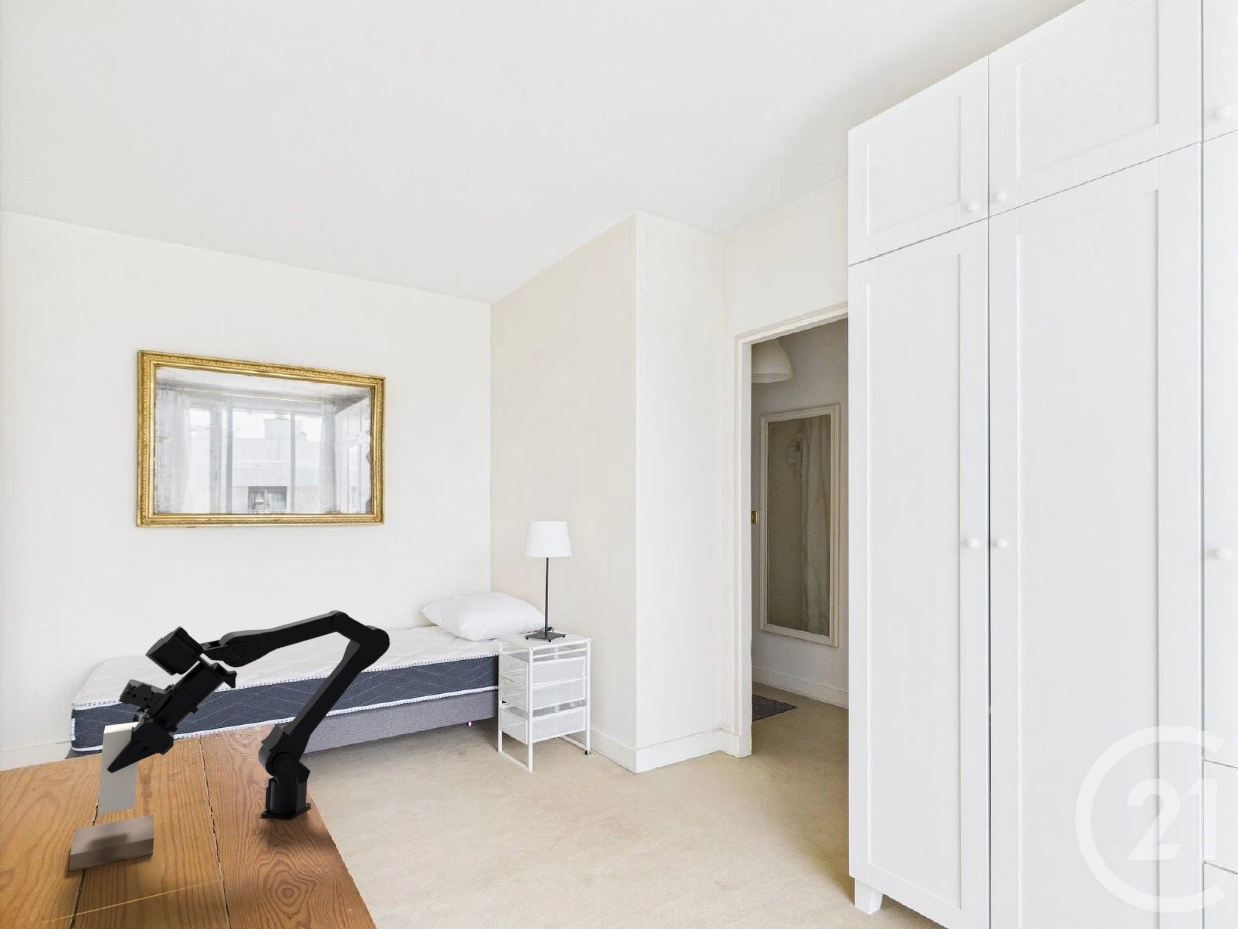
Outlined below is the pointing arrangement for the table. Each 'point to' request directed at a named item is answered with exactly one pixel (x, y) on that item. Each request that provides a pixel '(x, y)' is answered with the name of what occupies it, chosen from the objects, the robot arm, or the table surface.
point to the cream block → (122, 783)
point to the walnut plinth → (112, 842)
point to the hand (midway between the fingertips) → (110, 766)
